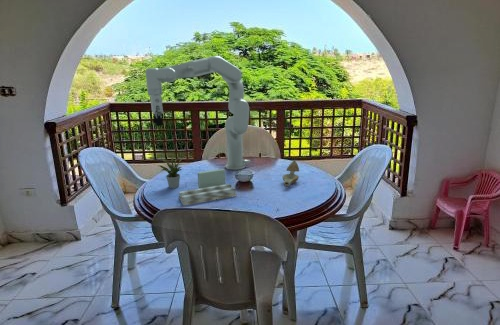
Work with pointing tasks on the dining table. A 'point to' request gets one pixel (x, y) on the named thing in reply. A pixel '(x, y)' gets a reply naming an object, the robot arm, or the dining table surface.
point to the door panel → (211, 178)
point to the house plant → (172, 173)
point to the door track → (206, 194)
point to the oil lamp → (291, 174)
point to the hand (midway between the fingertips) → (157, 124)
